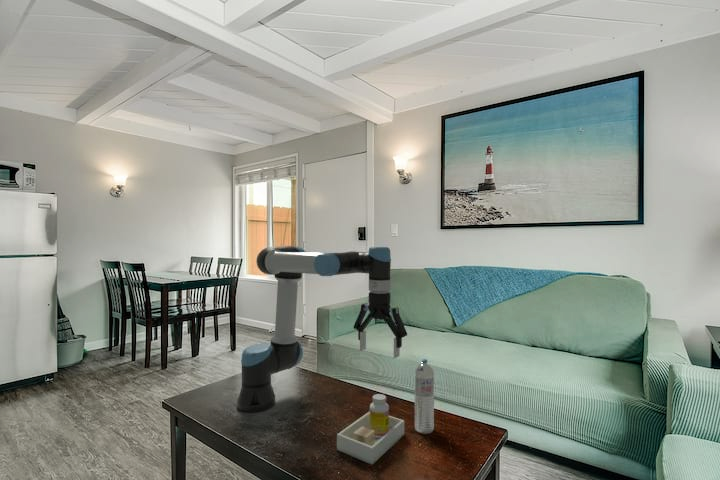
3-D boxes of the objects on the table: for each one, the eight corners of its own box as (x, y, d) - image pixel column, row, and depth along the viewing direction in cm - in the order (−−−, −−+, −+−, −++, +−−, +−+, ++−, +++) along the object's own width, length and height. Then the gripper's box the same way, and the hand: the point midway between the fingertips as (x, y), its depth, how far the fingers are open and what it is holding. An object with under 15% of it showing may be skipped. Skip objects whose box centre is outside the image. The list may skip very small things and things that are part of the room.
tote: (336, 449, 119) (336, 434, 119) (371, 423, 136) (371, 409, 136) (372, 464, 112) (372, 448, 112) (404, 434, 129) (404, 420, 129)
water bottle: (435, 426, 134) (435, 358, 134) (432, 436, 128) (432, 364, 128) (416, 423, 137) (416, 355, 136) (412, 432, 130) (413, 361, 130)
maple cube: (353, 448, 119) (353, 432, 119) (362, 441, 123) (362, 426, 123) (366, 453, 116) (366, 437, 116) (374, 446, 120) (374, 430, 120)
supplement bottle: (388, 440, 124) (388, 401, 124) (368, 438, 125) (368, 400, 125) (389, 429, 130) (389, 393, 130) (370, 428, 131) (370, 392, 131)
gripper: (344, 289, 131) (343, 349, 131) (406, 296, 117) (406, 363, 117) (356, 287, 137) (355, 344, 138) (417, 293, 123) (416, 357, 123)
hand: (379, 353), depth 127 cm, fingers open, 13 cm apart
